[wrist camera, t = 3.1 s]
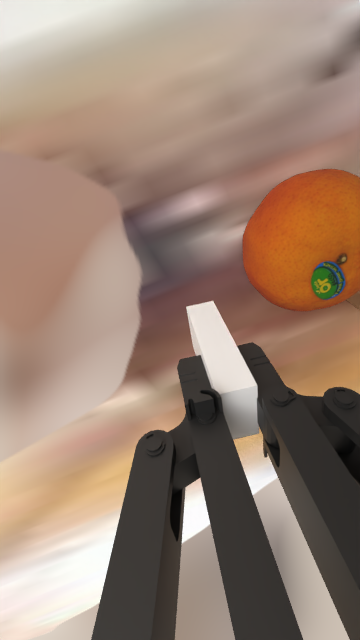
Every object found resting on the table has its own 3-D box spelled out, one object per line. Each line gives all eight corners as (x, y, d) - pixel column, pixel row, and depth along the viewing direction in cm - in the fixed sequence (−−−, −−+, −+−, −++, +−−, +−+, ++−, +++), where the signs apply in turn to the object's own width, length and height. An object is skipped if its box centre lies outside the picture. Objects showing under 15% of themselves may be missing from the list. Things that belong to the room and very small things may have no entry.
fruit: (290, 134, 22) (358, 133, 16) (367, 211, 26) (447, 237, 20) (207, 250, 26) (233, 289, 20) (285, 302, 30) (329, 349, 24)
